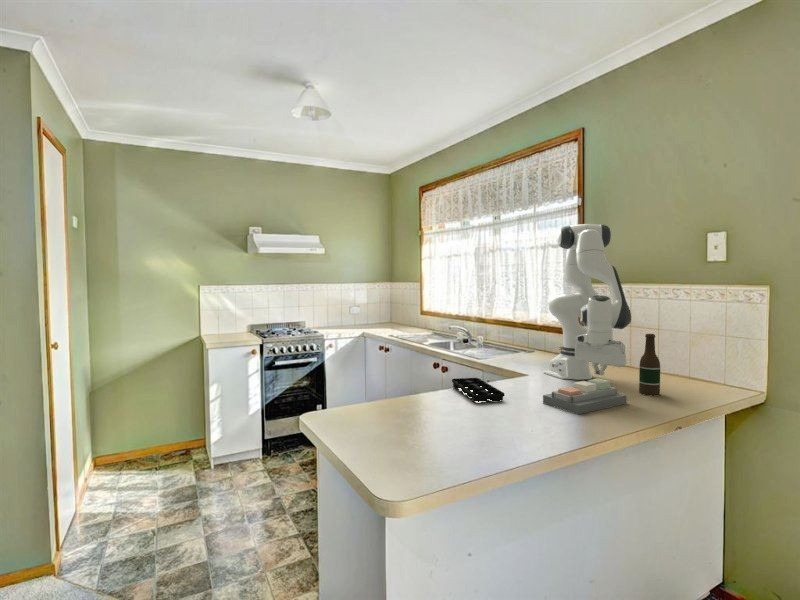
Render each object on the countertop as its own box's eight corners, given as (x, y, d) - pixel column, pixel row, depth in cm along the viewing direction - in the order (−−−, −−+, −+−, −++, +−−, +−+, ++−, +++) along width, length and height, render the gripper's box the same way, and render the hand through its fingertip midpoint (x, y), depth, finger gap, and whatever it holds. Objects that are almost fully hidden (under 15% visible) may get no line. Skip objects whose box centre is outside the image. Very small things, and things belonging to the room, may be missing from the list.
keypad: (543, 403, 169) (543, 389, 168) (590, 393, 181) (590, 381, 181) (578, 414, 155) (578, 399, 154) (626, 403, 167) (626, 390, 167)
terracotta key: (558, 396, 165) (558, 388, 165) (568, 394, 168) (568, 386, 168) (570, 400, 160) (570, 392, 160) (581, 398, 163) (581, 390, 163)
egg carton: (474, 384, 201) (474, 376, 201) (517, 400, 174) (517, 391, 174) (439, 388, 194) (439, 380, 194) (479, 406, 167) (479, 396, 166)
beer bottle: (655, 391, 184) (655, 332, 182) (664, 396, 176) (665, 335, 175) (635, 391, 184) (635, 332, 183) (643, 396, 177) (644, 335, 175)
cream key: (573, 390, 169) (573, 382, 169) (583, 388, 171) (583, 380, 171) (585, 393, 164) (585, 385, 164) (596, 391, 167) (596, 383, 166)
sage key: (587, 387, 173) (587, 380, 172) (597, 386, 175) (597, 378, 175) (600, 391, 168) (600, 383, 168) (610, 389, 170) (610, 381, 170)
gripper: (630, 341, 163) (629, 379, 163) (583, 335, 181) (582, 369, 181) (619, 342, 160) (618, 381, 160) (572, 336, 178) (572, 371, 178)
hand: (599, 374), depth 171 cm, fingers closed
